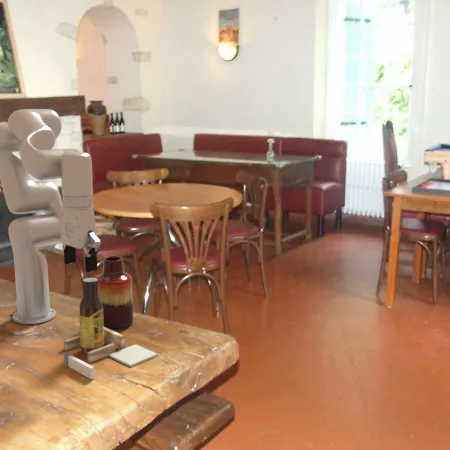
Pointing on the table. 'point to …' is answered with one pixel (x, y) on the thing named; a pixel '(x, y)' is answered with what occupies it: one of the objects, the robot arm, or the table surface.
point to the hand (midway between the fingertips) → (80, 266)
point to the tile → (133, 355)
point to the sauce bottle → (91, 317)
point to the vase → (115, 294)
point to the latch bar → (78, 365)
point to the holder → (110, 338)
